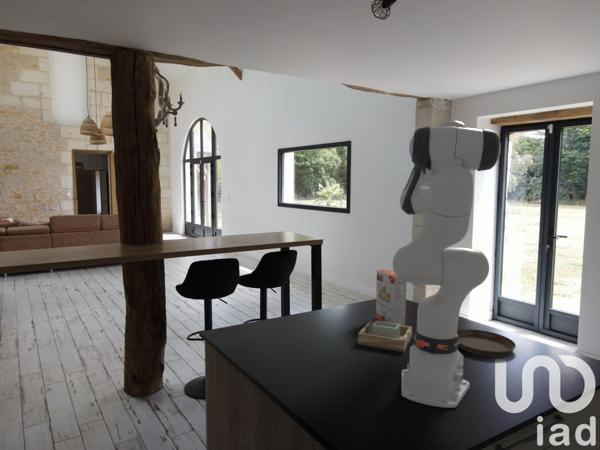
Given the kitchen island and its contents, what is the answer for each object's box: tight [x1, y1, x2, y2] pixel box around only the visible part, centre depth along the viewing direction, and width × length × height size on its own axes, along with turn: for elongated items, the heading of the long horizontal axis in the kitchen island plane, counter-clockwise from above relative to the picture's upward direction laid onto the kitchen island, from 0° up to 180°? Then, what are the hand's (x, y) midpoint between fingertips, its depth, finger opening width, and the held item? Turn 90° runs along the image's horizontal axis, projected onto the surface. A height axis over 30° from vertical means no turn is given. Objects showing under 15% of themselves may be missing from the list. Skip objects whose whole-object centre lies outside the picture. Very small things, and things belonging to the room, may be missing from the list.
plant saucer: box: [457, 328, 517, 358], centre depth 147 cm, size 21×21×3 cm
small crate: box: [372, 319, 400, 339], centre depth 152 cm, size 6×9×5 cm, turn 65°
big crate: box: [357, 320, 413, 353], centre depth 152 cm, size 16×16×4 cm
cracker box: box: [375, 269, 408, 326], centre depth 170 cm, size 14×6×21 cm, turn 19°
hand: (433, 259), depth 155 cm, fingers open, 8 cm apart
